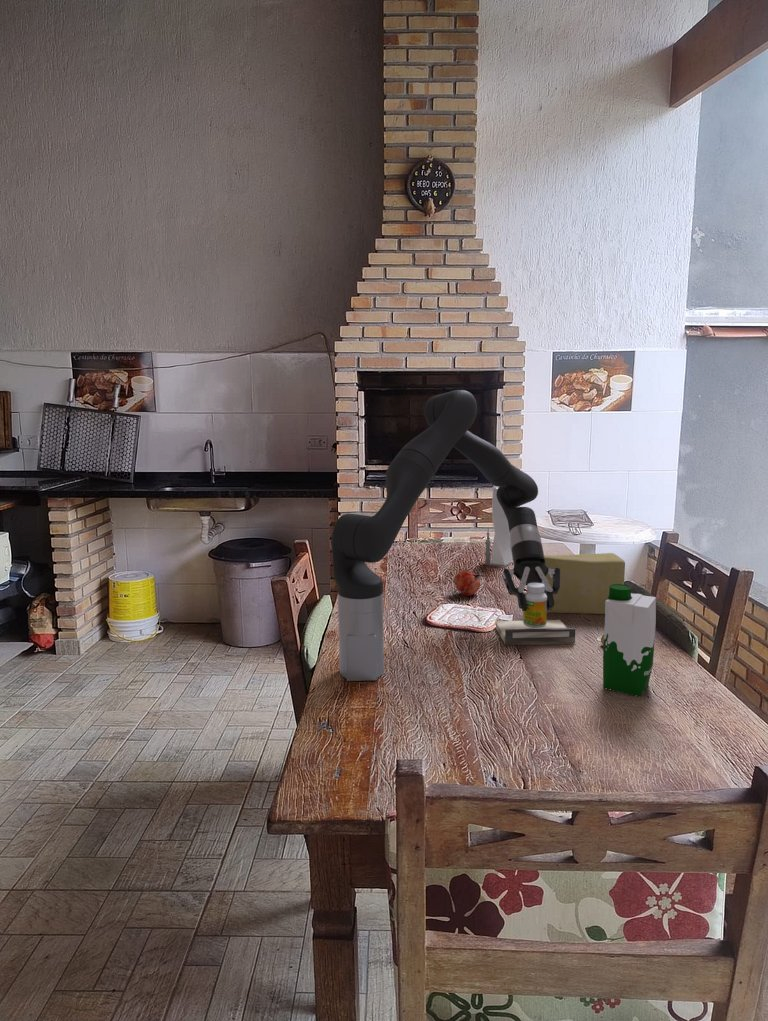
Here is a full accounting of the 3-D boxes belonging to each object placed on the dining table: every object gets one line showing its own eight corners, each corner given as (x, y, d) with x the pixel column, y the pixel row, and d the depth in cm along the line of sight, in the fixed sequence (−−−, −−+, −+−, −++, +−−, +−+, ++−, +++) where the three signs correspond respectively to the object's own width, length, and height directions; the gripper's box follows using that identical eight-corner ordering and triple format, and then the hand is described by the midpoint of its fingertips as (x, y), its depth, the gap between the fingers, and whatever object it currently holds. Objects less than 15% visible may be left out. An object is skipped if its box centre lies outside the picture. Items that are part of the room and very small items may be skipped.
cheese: (537, 617, 177) (539, 560, 174) (529, 605, 186) (530, 551, 183) (623, 616, 177) (627, 559, 174) (611, 604, 186) (614, 550, 184)
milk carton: (608, 673, 142) (613, 579, 139) (655, 683, 137) (661, 586, 134) (597, 689, 135) (601, 590, 131) (645, 700, 130) (652, 598, 127)
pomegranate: (452, 604, 195) (477, 588, 189) (440, 581, 197) (465, 565, 191) (466, 601, 200) (491, 585, 195) (455, 578, 202) (479, 562, 197)
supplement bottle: (521, 626, 161) (522, 586, 160) (525, 619, 166) (526, 580, 165) (544, 629, 160) (545, 589, 158) (548, 622, 164) (549, 582, 163)
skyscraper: (495, 559, 236) (497, 478, 231) (517, 563, 231) (519, 480, 226) (483, 564, 229) (485, 481, 224) (506, 568, 225) (508, 483, 220)
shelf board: (575, 644, 158) (575, 629, 158) (506, 645, 158) (506, 631, 157) (559, 625, 170) (560, 612, 170) (495, 627, 170) (495, 613, 169)
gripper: (499, 539, 166) (509, 602, 157) (558, 538, 167) (572, 601, 157) (495, 555, 173) (504, 617, 163) (552, 554, 173) (564, 615, 164)
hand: (537, 609), depth 160 cm, fingers closed on supplement bottle, 5 cm apart
